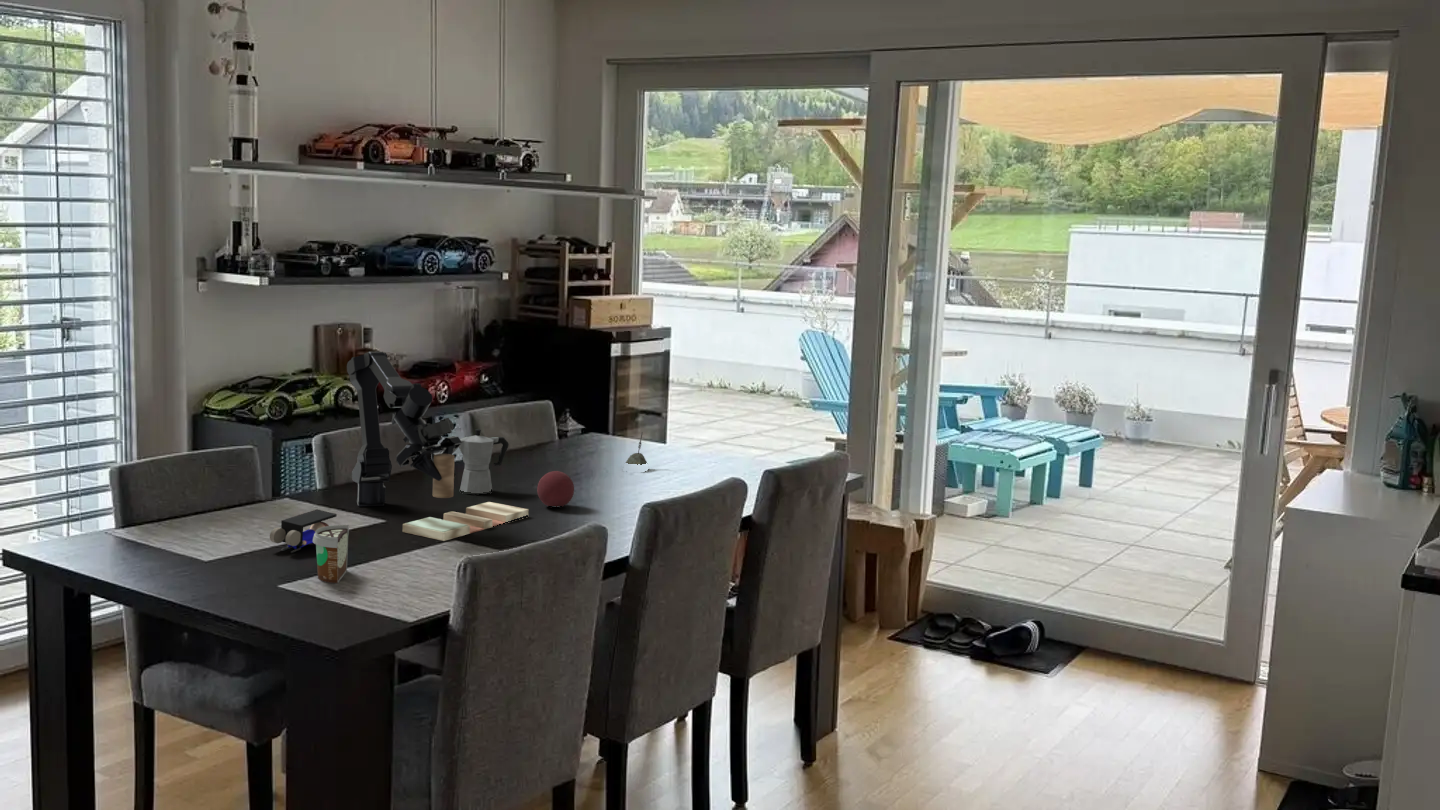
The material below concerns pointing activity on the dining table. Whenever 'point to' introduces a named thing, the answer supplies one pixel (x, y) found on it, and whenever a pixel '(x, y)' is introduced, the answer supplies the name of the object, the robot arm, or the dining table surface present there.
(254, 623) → the dining table surface
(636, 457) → the sword in stone
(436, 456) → the walnut cylinder
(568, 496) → the decorative ball
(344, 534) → the food container
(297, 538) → the figurine character
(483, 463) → the coffeepot
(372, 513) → the dining table surface
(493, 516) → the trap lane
